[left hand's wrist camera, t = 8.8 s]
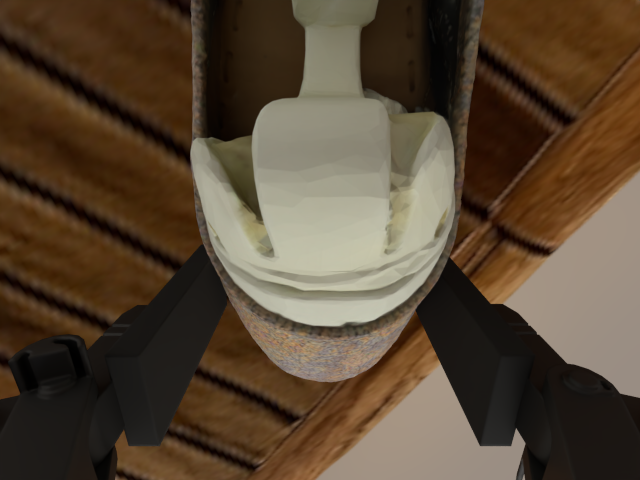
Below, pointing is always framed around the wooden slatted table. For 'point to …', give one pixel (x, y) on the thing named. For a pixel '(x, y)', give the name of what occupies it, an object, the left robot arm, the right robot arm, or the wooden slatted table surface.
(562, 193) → the wooden slatted table surface
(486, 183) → the wooden slatted table surface
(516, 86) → the wooden slatted table surface
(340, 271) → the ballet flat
